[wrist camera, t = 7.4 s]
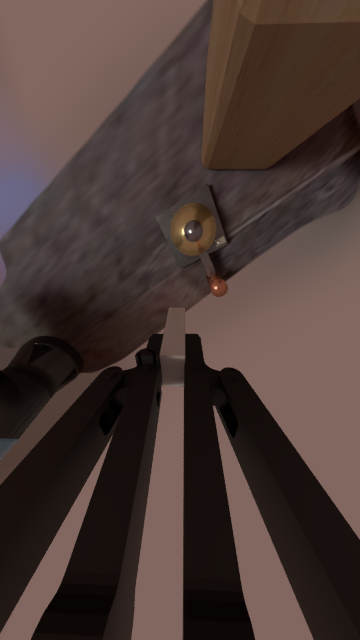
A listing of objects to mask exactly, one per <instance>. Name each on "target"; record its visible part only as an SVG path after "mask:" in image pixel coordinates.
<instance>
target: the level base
mask: <svg viewBox="0 0 360 640" xmlns="http://www.w3.org/2000/svg"><path fill="white" fill-rule="evenodd" d="M190 203H199V204H202V205H204V206H206V207H207V208H208V209H209V210H210V211H211V212H212V214H213V216H214V218H215V221H216V235H215V239H214V241H213V243H212V245H211V246H210V247H209V248H208V249H207V250H206V251H207V253H208V254H210V253H212V252H214V251H216V250H218V249H220V248H221V247H223V246H225V245H227V244H228V243H227V240H226V237H225V234H224V231H223V228H222V225H221V222H220V219H219V216H218V213H217V210H216V207H215V204H214V201H213V198H212V195H211V192H210V189H209V186H208V184H206V185H205V186H203V187H202V188H200V189H199V190H197V191H195V192H194V193H192V194H191V195H189V196H188V197H186V198H185V199H183V200H182V201H180V202H179V203H177V204H175V205H174V206H172V207H171V208H169V209H168V210H166V211H165V212H163V213H162V214H160V215H159V216H157V217H156V219H157V221H158V223H159V225H160V227H161V229H162V231H163V233H164V235H165V237H166V239H167V241H168V243H169V245H170V247H171V249H172V251H173V253H174V255H175V257H176V260H177V262H178V264H179V266H180V268H183V267H185V266H187V265H189V264H191V263H193V262H195V261H197V260H198V259H200V257H199V255H195V256H189V255H186V254H183V253H181V252H180V251H179V250H178V249H177V248H176V247H175V245H174V244H173V241H172V238H171V233H170V228H171V222H172V219H173V217H174V215H175V214H176V212H177V211H178V210H179V209H180V208H181V207H183V206H184V205H187V204H190Z"/></svg>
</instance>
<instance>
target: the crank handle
mask: <svg viewBox="0 0 360 640" xmlns="http://www.w3.org/2000/svg"><path fill="white" fill-rule="evenodd" d="M170 233H171V238H172V241H173V244H174V245H175V247H176V248H177V249H178V250H179V251H180V252H181V253H183V254H186V255H189V256H195V255H199V257H200V259H201V261H202V263H203V265H204V268H205V270H206V272H207V281H208V284H209V286H210V289H211V291H212V294H213V295H215V296H217V297H220V296H223V295H225V294H226V292H227V290H228V286H227V284H226V283H225V281H224V280H223V278H222V277H221V276H220V274H219V273H218V272H217V271H215V269H214V267H213V265H212V262H211V260H210V258H209V255H208V253H207V251H206V250H207V249H208V248H209V247H210V246H211V245H212V243H213V241H214V239H215V235H216V221H215V218H214V216H213V214H212V212H211V211H210V210H209V209H208V208H207V207H206V206H204V205H202V204H199V203H190V204H187V205H184V206H183V207H181V208H180V209H179V210H178V211H177V212H176V214H175V215H174V217H173V219H172V222H171V228H170Z"/></svg>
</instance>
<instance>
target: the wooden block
mask: <svg viewBox="0 0 360 640" xmlns="http://www.w3.org/2000/svg"><path fill="white" fill-rule="evenodd" d="M358 99H360V0H214V5H213V13H212V22H211V31H210V40H209V49H208V57H207V70H206V87H205V104H204V121H203V138H202V155H201V160H202V164H203V167H205V168H207V169H267V168H269V167H271V166H272V165H273V164H275V163H276V162H277V161H279V160H280V159H281V158H283V157H284V156H285V155H286V154H288V153H289V152H290V151H292V150H293V149H294V148H296V147H297V146H298V145H300V144H301V143H302V142H303V141H305V140H306V139H307V138H309V137H310V136H311V135H313V134H314V133H315V132H317V131H318V130H319V129H321V128H322V127H323V126H324V125H326V124H327V123H328V122H330V121H331V120H332V119H334V118H335V117H336V116H338V115H339V114H340V113H341V112H343V111H344V110H345V109H347V108H348V107H349V106H351V105H352V104H353V103H355V102H356V101H357V100H358Z"/></svg>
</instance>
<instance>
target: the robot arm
mask: <svg viewBox="0 0 360 640" xmlns="http://www.w3.org/2000/svg"><path fill="white" fill-rule="evenodd" d="M135 358H136V363H137V366H136V367H135V368H132V369H129V370H124V371H123V370H122V369H121V368H120V367H116V366H113V367H109V368H107V369H105V370H104V371H102V372H101V373H100V374H99V375H98V377H97V378H96V379H95V380H94V381H93V382H92V383H91V384H90V385H89V387H88V388H87V389H86V390H85V391H84V392H83V393H82V394H81V396H80V397H79V398H78V399H77V400H76V402H74V403H73V405H72V406H71V407H70V408H69V409H68V410H67V411H66V412H65V413H64V415H63V416H62V417H61V418H60V419H59V420H58V421H57V422H56V424H55V425H54V426H53V427H52V428H51V429H50V430H49V431H48V432H47V433H46V435H45V436H44V437H43V438H42V439H41V440H40V441H39V443H38V444H37V445H36V446H35V447H34V448H33V449H32V450H31V451H30V453H29V454H28V455H27V456H26V457H25V458H24V459H23V460H22V462H21V463H20V464H19V465H18V466H17V467H16V468H15V469H14V470H13V472H12V473H11V474H10V475H9V476H8V477H7V478H6V479H5V480H4V482H3V483H2V484H1V485H0V632H1V631H2V629H3V627H4V626H5V624H6V622H7V620H8V619H9V617H10V615H11V613H12V611H13V610H14V608H15V606H16V604H17V603H18V601H19V599H20V597H21V596H22V594H23V592H24V590H25V588H26V587H27V585H28V583H29V581H30V579H31V578H32V576H33V574H34V573H35V571H36V569H37V567H38V566H39V564H40V562H41V560H42V558H43V557H44V555H45V553H46V551H47V550H48V548H49V546H50V544H51V543H52V541H53V539H54V537H55V536H56V533H57V532H58V530H59V528H60V527H61V525H62V523H63V521H64V520H65V518H66V516H67V514H68V512H69V511H70V509H71V507H72V506H73V504H74V502H75V500H76V498H77V497H78V495H79V493H80V491H81V490H82V488H83V486H84V484H85V483H86V481H87V479H88V477H89V475H90V474H91V472H92V470H93V468H94V467H95V465H96V463H97V461H98V460H99V458H100V456H101V454H102V453H103V451H104V449H105V447H106V445H107V444H108V442H109V440H110V438H111V436H112V435H113V437H112V439H111V442H110V445H109V448H108V451H107V454H106V457H105V460H104V463H103V465H102V468H101V471H100V474H99V477H98V480H97V483H96V486H95V489H94V491H93V494H92V497H91V500H90V503H89V506H88V509H87V511H86V515H85V517H84V520H83V523H82V526H81V529H80V532H79V534H78V537H77V540H76V544H75V546H74V549H73V552H72V555H71V558H70V561H69V563H68V566H67V569H66V572H65V575H64V577H63V580H62V582H61V585H60V587H59V589H58V591H57V593H56V594H55V596H54V598H53V599H52V601H51V602H50V604H49V605H48V607H47V609H46V610H45V611H44V613H43V615H42V617H41V619H40V621H39V623H38V625H37V628H36V629H35V632H34V633H33V636H32V638H31V640H131V635H132V627H133V617H134V601H135V586H136V578H137V571H138V564H139V556H140V549H141V541H142V533H143V527H144V519H145V512H146V505H147V497H148V490H149V483H150V475H151V468H152V460H153V453H154V446H155V438H156V431H157V424H158V417H159V409H160V402H161V395H162V392H161V386H184V504H183V507H184V509H183V640H255V637H254V633H253V628H252V624H251V621H250V617H249V614H248V611H247V607H246V604H245V600H244V596H243V591H242V585H241V580H240V574H239V567H238V561H237V555H236V548H235V542H234V537H233V530H232V523H231V517H230V511H229V505H228V499H227V493H226V486H225V479H224V474H223V467H222V461H221V454H220V448H219V442H218V436H217V429H216V424H215V417H214V411H213V405H214V406H216V409H217V412H218V414H219V416H220V419H221V421H222V423H223V426H224V428H225V431H226V433H227V435H228V438H229V440H230V442H231V445H232V447H233V450H234V452H235V454H236V456H237V459H238V461H239V464H240V466H241V468H242V471H243V473H244V475H245V478H246V480H247V482H248V485H249V487H250V490H251V492H252V495H253V497H254V499H255V502H256V504H257V506H258V509H259V511H260V513H261V516H262V518H263V521H264V523H265V525H266V528H267V530H268V532H269V535H270V537H271V539H272V542H273V544H274V546H275V549H276V551H277V554H278V556H279V558H280V561H281V563H282V565H283V567H284V570H285V572H286V575H287V577H288V580H289V582H290V584H291V587H292V589H293V591H294V594H295V596H296V599H297V601H298V603H299V605H300V608H301V610H302V613H303V615H304V617H305V620H306V622H307V624H308V627H309V629H310V632H311V634H312V636H313V639H314V640H360V539H359V538H358V537H357V535H356V534H355V532H354V531H353V530H352V528H351V527H350V525H349V524H348V523H347V521H346V520H345V518H344V517H343V515H342V514H341V513H340V511H339V510H338V508H337V507H336V506H335V504H334V503H333V502H332V500H331V499H330V497H329V496H328V494H327V493H326V491H325V490H324V489H323V487H322V486H321V484H320V483H319V482H318V480H317V479H316V477H315V476H314V475H313V473H312V472H311V470H310V469H309V468H308V466H307V465H306V463H305V462H304V460H303V459H302V458H301V456H300V455H299V453H298V452H297V451H296V449H295V448H294V446H293V445H292V444H291V442H290V441H289V439H288V438H287V436H286V435H285V434H284V432H283V431H282V429H281V428H280V427H279V425H278V424H277V422H276V421H275V420H274V418H273V417H272V415H271V414H270V412H269V411H268V410H267V409H266V407H265V405H264V404H263V403H262V401H261V400H260V398H259V397H258V396H257V394H256V393H255V391H254V390H253V389H252V387H251V386H250V384H249V383H248V381H247V380H246V379H245V377H244V376H243V374H241V372H240V371H238V370H236V369H234V368H224V369H222V370H221V371H217V370H214V369H211V368H209V367H208V366H207V365H206V364H205V362H204V358H203V351H202V345H201V338H200V337H199V335H198V334H185V308H169V311H168V316H167V321H166V326H165V331H164V334H153V335H152V336H151V337H150V338H149V341H148V344H147V348H145V349H142V350H140V351H139V352H137V353H136V355H135ZM82 368H83V362H82V359H81V357H80V356H79V354H78V353H77V352H76V351H75V350H74V349H73V348H72V347H70V346H69V345H67V344H66V343H64V342H62V341H60V340H57V339H54V338H50V337H36V338H33V339H31V340H29V341H28V342H27V343H25V344H24V345H23V346H22V347H21V348H20V349H19V351H18V352H17V353H16V355H15V356H14V357H13V359H12V360H11V362H10V363H9V364H8V366H7V367H6V368H5V369H3V370H2V371H0V459H1V458H2V457H3V456H4V455H5V454H6V453H7V452H8V451H9V450H10V448H11V447H12V446H13V445H14V444H15V443H16V442H18V440H19V438H20V436H21V435H22V434H23V433H24V432H25V430H26V429H27V428H28V427H29V425H30V424H31V423H32V422H33V420H34V419H35V418H36V417H37V415H38V414H39V413H40V412H41V410H42V409H43V408H44V406H45V405H46V404H47V403H48V401H49V400H50V399H51V398H52V396H53V395H54V394H55V393H56V392H58V391H59V390H60V389H62V388H63V387H65V386H66V385H67V384H69V383H70V382H71V381H73V380H74V379H75V378H76V377H77V376H78V375H79V374H80V372H81V371H82ZM113 433H114V434H113Z"/></svg>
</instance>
